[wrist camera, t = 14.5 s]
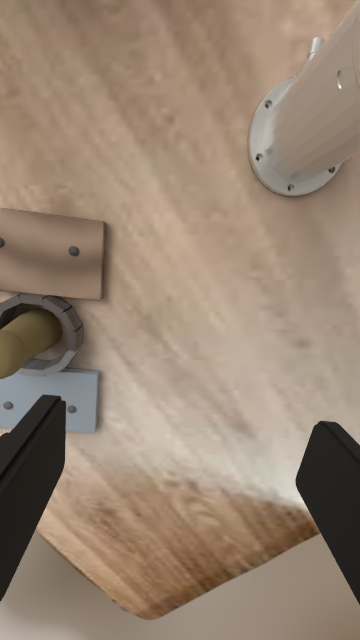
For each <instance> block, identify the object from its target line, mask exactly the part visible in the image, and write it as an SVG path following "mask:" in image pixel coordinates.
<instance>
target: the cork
mask: <svg viewBox="0 0 360 640" xmlns="http://www.w3.org/2000/svg"><path fill="white" fill-rule="evenodd" d="M61 334H62V328H61V324H60V322H59V320H58V318H57V317H56V316H55V315H54V314H53V313H51V312H49V311H47V310H45V309H40V308H34V309H30V310H27V311H25V312H24V313H23V314H21V315H20V316H18V317H17V318H16V319H14V320H13V321H12V322H10V323H9V324H8V325H6V326H5V327H4V328H2V329H1V330H0V379H4V378H6V377H9V376H12V375H14V374H15V373H16V372H17V371H18V370H19V369H21V368H22V366H23V364H24V362H25V360H27V359H29V358H31V357H33V356H35V355H37V354H39V353H41V352H43V351H45V350H47V349H49V348H51V347H53V346H54V345H55V344H56V343H58V341H59V340H60V338H61Z"/></svg>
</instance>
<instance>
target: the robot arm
mask: <svg viewBox="0 0 360 640" xmlns="http://www.w3.org/2000/svg"><path fill="white" fill-rule="evenodd" d="M265 106H266V107H267V108H266V107H265ZM248 152H249V158H250V162H251V165H252V168H253V170H254V172H255V174H256V175H257V177H258V179H259V180H260V181H261V182H262V183H263V184H264V185H265V186H266V187H267V188H269V189H270V190H271V191H273V192H275V193H277V194H280V195H284V196H300V195H305V194H308V193H310V192H313V191H315V190H317V189H318V188H320V187H322V186H323V185H325V184H326V183H327V182H328V181H329V180H331V178H332V177H333V176H334V175H335V174H336V173H337V171H338V170H339V168H340V166H341V165H342V163H343V162H344V161H346V160H348V159H350V158H352V157H354V156H356V155H358V154H360V0H356V1H355V3H354V4H353V5H352V7H351V8H350V9H349V11H348V12H347V13H346V15H345V16H344V17H343V18H342V20H341V21H340V22H339V24H338V25H337V26H336V28H335V29H334V30H333V32H332V33H331V34H330V35H329V37H328V38H327V39H326V41H325V42H324V38H322V37H316V38H313V39H312V40H311V42H310V46H309V51H308V56H307V62H306V63H305V64H304V66H303V67H302V68H301V70H300V71H299V72H298V74H297V75H296V76H295V77H292V78H289V79H287V80H285V81H283V82H281V83H280V84H278V85H277V86H276V87H274V88H273V89H272V90H271V91H270V92H269V93H268V94H267V95H266V96H265V98H264V99H263V101H262V102H261V104H260V105H259V107H258V109H257V111H256V112H255V114H254V116H253V119H252V122H251V125H250V129H249V136H248ZM256 158H258V161H257V160H256ZM288 188H289V191H288ZM65 434H66V401H63V400H62V399H61V396H56V395H46V394H44V395H42V396H41V397H40V398H39V399H38V400H37V401H36V402H35V404H34V405H33V406H32V407H31V408H30V410H29V411H28V412H27V413H26V414H25V415H24V417H23V418H22V419H21V420H20V421H19V422H18V424H17V425H16V426H15V427H14V428H13V430H12V431H11V432H10V433H5V434H3V435H2V436H0V601H1V600H2V598H3V597H4V595H5V593H6V591H7V589H8V587H9V584H10V582H11V580H12V578H13V576H14V574H15V572H16V570H17V567H18V565H19V563H20V561H21V558H22V556H23V554H24V552H25V550H26V548H27V546H28V544H29V542H30V540H31V538H32V535H33V533H34V531H35V529H36V527H37V525H38V523H39V520H40V518H41V516H42V514H43V512H44V510H45V508H46V506H47V503H48V501H49V499H50V497H51V495H52V493H53V491H54V488H55V486H56V484H57V482H58V480H59V478H60V476H61V473H62V471H63V468H64V463H65ZM296 486H297V489H298V491H299V493H300V495H301V497H302V499H303V501H304V502H305V504H306V506H307V508H308V510H309V512H310V514H311V515H312V517H313V519H314V521H315V523H316V525H317V527H318V528H319V530H320V532H321V534H322V536H323V538H324V540H325V541H326V543H327V545H328V547H329V549H330V550H331V552H332V554H333V556H334V558H335V560H336V562H337V564H338V566H339V567H340V569H341V571H342V573H343V575H344V577H345V578H346V580H347V582H348V584H349V586H350V588H351V590H352V591H353V593H354V595H355V597H356V599H357V601H358V602H359V604H360V445H359V444H358V443H357V442H356V441H355V440H354V439H353V438H352V437H351V436H350V435H349V434H348V433H347V432H346V431H345V430H344V429H343V428H342V427H341V426H340V425H339V424H338V423H336V422H328V421H320V422H318V424H317V425H315V426H314V428H313V430H312V433H311V436H310V439H309V442H308V445H307V448H306V450H305V453H304V456H303V459H302V462H301V465H300V468H299V470H298V473H297V476H296Z"/></svg>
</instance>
